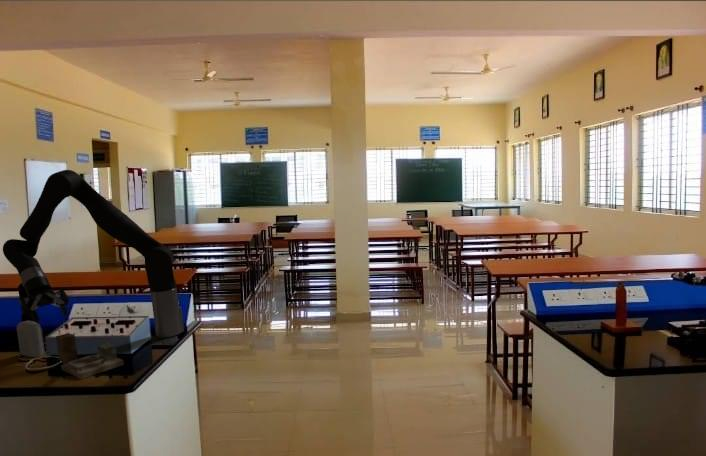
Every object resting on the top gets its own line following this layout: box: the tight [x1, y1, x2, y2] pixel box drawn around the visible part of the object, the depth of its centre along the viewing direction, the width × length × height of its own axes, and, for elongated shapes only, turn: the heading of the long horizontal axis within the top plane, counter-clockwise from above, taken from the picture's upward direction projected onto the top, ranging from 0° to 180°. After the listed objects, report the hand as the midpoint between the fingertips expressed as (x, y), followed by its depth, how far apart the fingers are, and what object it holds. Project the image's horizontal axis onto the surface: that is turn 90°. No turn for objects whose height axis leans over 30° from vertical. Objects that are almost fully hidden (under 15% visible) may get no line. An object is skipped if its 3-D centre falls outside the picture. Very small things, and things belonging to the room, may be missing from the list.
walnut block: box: [55, 332, 79, 365], centre depth 169 cm, size 4×5×9 cm
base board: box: [61, 342, 125, 380], centre depth 161 cm, size 13×15×6 cm
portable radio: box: [17, 282, 44, 336], centre depth 202 cm, size 8×6×25 cm
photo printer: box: [16, 321, 46, 358], centre depth 180 cm, size 10×4×12 cm, turn 60°
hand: (51, 317), depth 174 cm, fingers open, 8 cm apart
